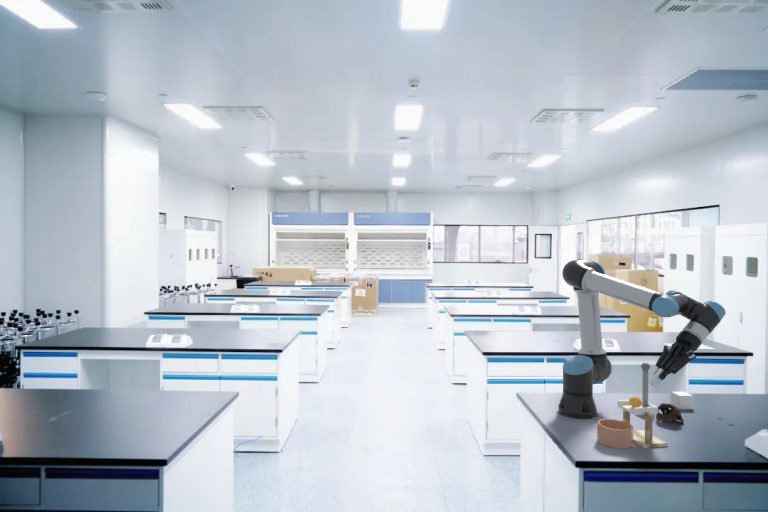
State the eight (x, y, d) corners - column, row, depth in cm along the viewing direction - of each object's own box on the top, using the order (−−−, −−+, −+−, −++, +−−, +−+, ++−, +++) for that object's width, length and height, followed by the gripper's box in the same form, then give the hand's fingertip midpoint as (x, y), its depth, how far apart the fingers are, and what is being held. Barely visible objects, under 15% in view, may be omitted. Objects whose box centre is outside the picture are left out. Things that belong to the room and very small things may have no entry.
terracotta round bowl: (593, 443, 169) (594, 425, 169) (602, 434, 178) (602, 416, 178) (628, 451, 162) (628, 432, 162) (635, 441, 171) (635, 423, 171)
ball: (628, 407, 171) (628, 396, 171) (630, 405, 174) (630, 394, 174) (640, 410, 169) (640, 398, 169) (642, 407, 172) (642, 396, 172)
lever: (639, 413, 177) (639, 359, 177) (658, 422, 168) (658, 365, 168) (617, 415, 175) (618, 360, 175) (635, 423, 166) (635, 366, 166)
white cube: (679, 409, 207) (679, 395, 207) (670, 405, 213) (670, 391, 213) (693, 409, 207) (693, 395, 207) (684, 404, 213) (684, 391, 213)
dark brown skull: (690, 427, 186) (683, 411, 185) (666, 436, 188) (659, 420, 186) (674, 410, 198) (667, 394, 196) (651, 418, 200) (645, 403, 198)
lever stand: (641, 433, 179) (642, 401, 179) (667, 446, 167) (667, 412, 167) (619, 434, 177) (619, 402, 177) (643, 448, 165) (643, 413, 165)
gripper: (713, 347, 170) (672, 396, 167) (683, 340, 182) (645, 386, 179) (700, 332, 169) (659, 382, 165) (671, 327, 181) (633, 372, 178)
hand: (652, 384), depth 172 cm, fingers closed
